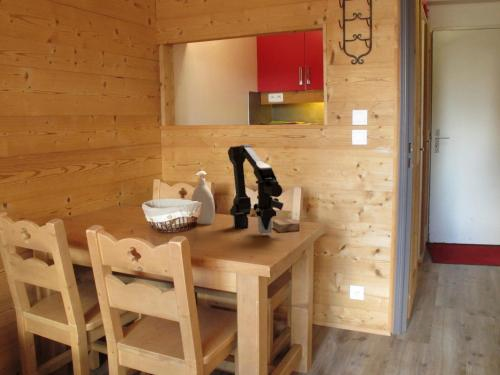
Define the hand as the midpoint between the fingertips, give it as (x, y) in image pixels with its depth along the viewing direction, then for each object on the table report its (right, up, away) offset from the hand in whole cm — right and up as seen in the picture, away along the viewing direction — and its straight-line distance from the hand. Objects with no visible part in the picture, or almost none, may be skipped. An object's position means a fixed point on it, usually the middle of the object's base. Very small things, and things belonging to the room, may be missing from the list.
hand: (264, 228), depth 225 cm
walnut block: (+11, -2, +13) cm, 17 cm away
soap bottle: (-31, 0, +29) cm, 43 cm away
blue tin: (0, -2, 0) cm, 2 cm away
